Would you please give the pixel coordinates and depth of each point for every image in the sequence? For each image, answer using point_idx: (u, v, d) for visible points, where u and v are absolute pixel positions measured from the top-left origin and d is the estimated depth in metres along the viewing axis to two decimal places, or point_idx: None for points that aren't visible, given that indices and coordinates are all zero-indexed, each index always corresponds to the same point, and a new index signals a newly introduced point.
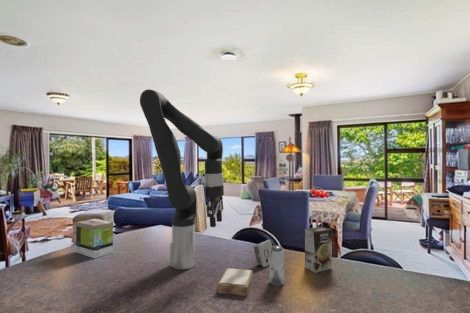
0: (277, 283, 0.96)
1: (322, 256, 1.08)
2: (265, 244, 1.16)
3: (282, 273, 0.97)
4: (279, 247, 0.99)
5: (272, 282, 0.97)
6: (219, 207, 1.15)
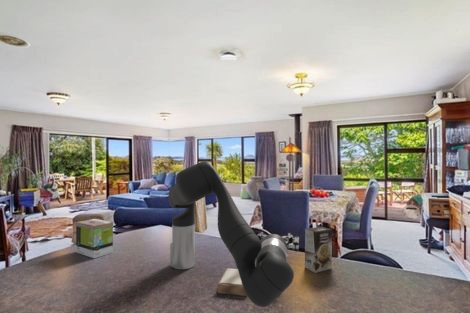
0: None
1: (322, 256, 1.08)
2: None
3: None
4: None
5: None
6: None
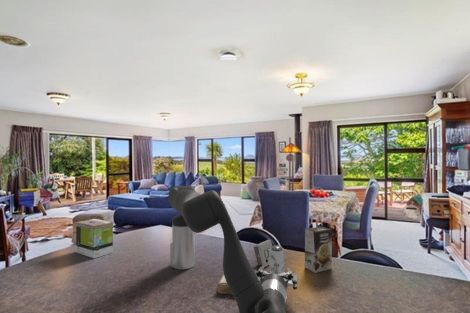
0: None
1: (322, 256, 1.08)
2: (265, 244, 1.16)
3: None
4: (279, 247, 0.99)
5: None
6: None
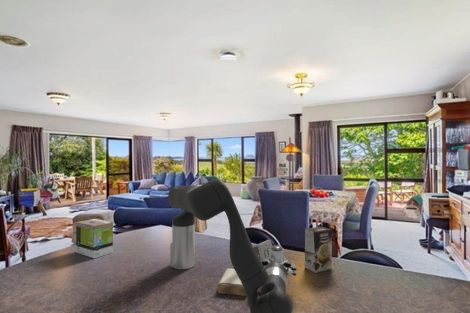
0: None
1: (322, 256, 1.08)
2: (265, 244, 1.16)
3: None
4: (279, 247, 0.99)
5: None
6: None
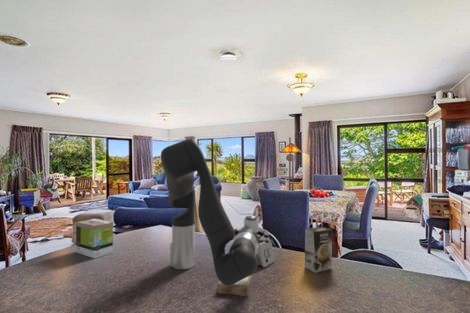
0: None
1: (322, 256, 1.08)
2: (265, 244, 1.16)
3: None
4: (253, 217, 0.98)
5: None
6: None
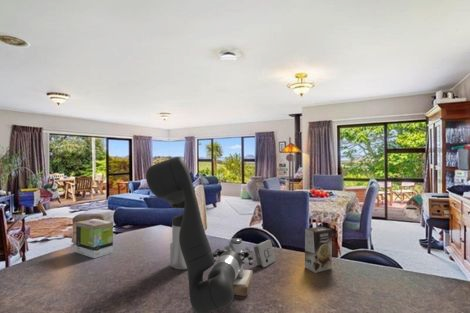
0: None
1: (322, 256, 1.08)
2: (265, 244, 1.16)
3: (241, 266, 0.95)
4: (238, 240, 0.96)
5: None
6: None
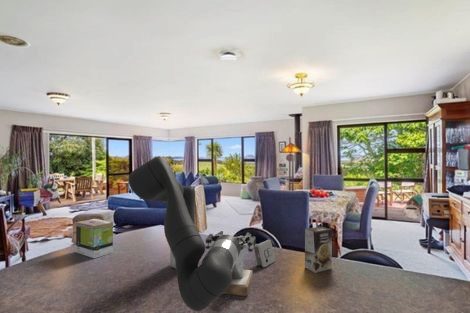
0: (235, 276, 0.94)
1: (322, 256, 1.08)
2: (265, 244, 1.16)
3: (241, 266, 0.95)
4: None
5: None
6: None
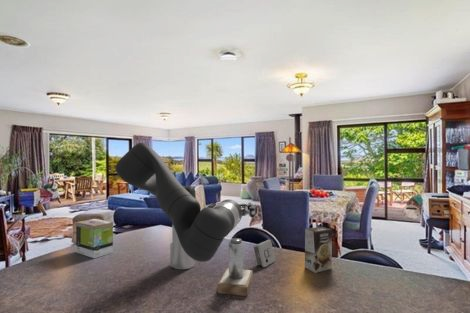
0: (235, 276, 0.94)
1: (322, 256, 1.08)
2: (265, 244, 1.16)
3: (241, 266, 0.95)
4: (238, 240, 0.96)
5: (230, 275, 0.95)
6: None
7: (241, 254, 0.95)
